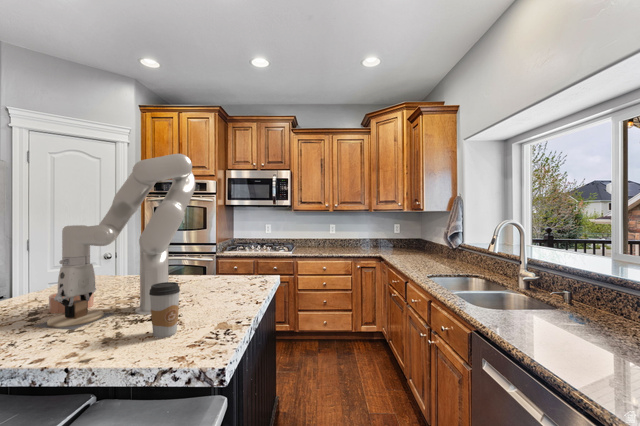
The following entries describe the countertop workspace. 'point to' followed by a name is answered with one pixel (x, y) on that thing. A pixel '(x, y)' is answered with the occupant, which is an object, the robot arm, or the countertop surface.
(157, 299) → the coffee cup
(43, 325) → the mat
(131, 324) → the countertop surface
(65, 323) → the lid
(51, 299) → the bowl
